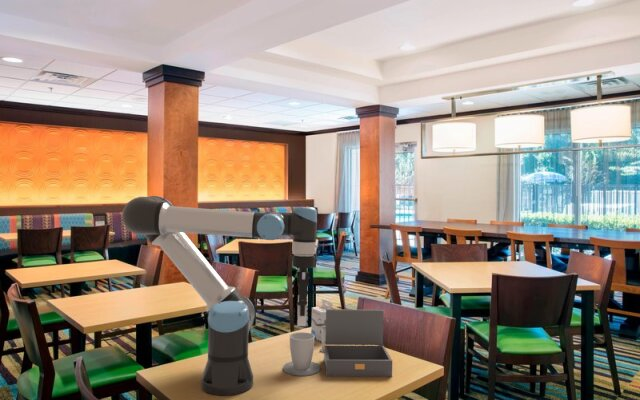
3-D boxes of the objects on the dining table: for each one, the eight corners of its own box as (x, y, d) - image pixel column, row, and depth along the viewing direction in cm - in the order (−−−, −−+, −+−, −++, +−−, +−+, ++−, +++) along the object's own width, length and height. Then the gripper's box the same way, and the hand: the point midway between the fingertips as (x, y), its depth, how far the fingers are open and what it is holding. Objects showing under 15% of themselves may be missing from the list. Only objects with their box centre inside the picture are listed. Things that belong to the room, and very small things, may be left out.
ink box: (310, 336, 187) (311, 299, 187) (321, 335, 190) (322, 298, 190) (321, 342, 180) (322, 304, 180) (332, 341, 182) (333, 303, 182)
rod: (319, 351, 169) (319, 349, 169) (319, 351, 170) (319, 348, 170) (343, 351, 170) (343, 349, 170) (343, 351, 171) (343, 348, 171)
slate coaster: (282, 375, 146) (282, 373, 146) (283, 362, 158) (283, 360, 158) (321, 375, 147) (321, 374, 147) (319, 362, 159) (319, 360, 159)
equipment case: (323, 376, 146) (324, 321, 146) (320, 358, 162) (322, 309, 162) (392, 377, 147) (393, 322, 147) (383, 359, 163) (384, 309, 163)
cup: (316, 363, 156) (317, 333, 156) (310, 372, 148) (311, 340, 148) (292, 361, 157) (293, 331, 157) (286, 369, 150) (286, 338, 149)
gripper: (317, 260, 140) (314, 331, 140) (314, 250, 165) (311, 310, 165) (292, 259, 139) (289, 330, 140) (292, 249, 164) (290, 310, 165)
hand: (301, 320), depth 152 cm, fingers open, 13 cm apart
